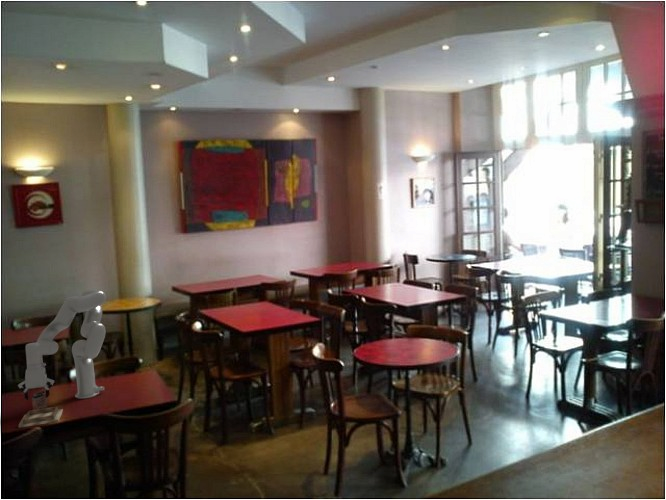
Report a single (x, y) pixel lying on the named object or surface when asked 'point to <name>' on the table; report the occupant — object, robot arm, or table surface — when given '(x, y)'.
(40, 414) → the square beige tray
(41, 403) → the lighter
